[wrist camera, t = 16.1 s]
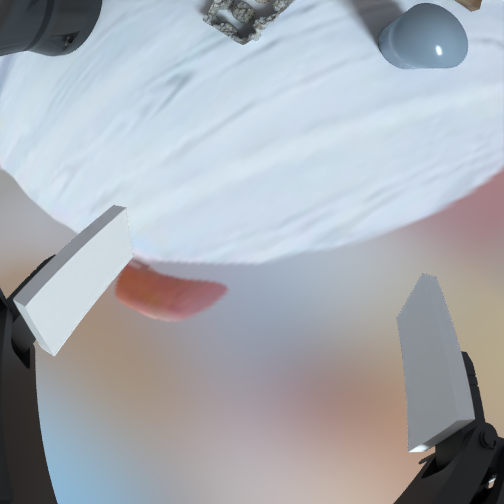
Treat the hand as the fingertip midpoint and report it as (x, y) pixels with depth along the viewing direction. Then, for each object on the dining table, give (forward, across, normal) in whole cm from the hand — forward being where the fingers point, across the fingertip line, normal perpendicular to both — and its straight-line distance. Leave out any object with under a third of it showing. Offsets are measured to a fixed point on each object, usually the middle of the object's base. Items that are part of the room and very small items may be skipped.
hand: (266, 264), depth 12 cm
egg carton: (+27, -8, +16) cm, 33 cm away
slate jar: (+27, +10, +14) cm, 32 cm away
